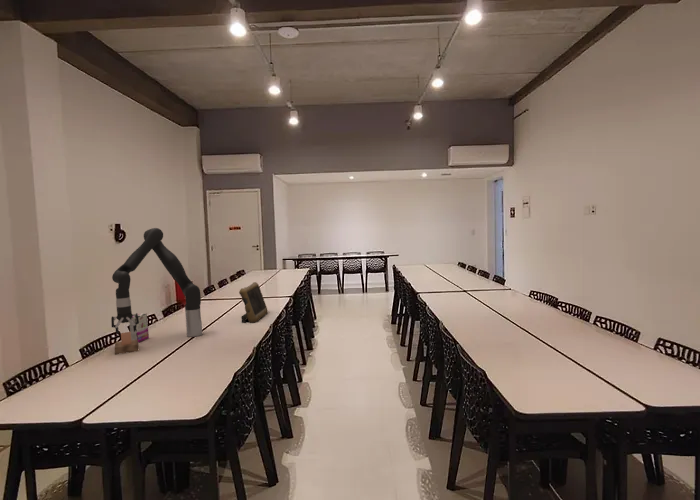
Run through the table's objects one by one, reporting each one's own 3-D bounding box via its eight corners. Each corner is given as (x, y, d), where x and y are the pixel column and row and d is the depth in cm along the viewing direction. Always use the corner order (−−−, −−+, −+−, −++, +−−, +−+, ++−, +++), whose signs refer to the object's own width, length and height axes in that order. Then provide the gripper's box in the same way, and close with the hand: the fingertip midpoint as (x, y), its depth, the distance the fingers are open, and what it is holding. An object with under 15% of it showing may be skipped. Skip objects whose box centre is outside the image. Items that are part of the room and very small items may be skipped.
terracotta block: (131, 341, 265) (130, 331, 264) (131, 343, 260) (130, 333, 260) (122, 343, 263) (121, 332, 262) (121, 345, 258) (120, 334, 258)
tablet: (259, 323, 318) (257, 288, 316) (239, 323, 318) (237, 288, 316) (268, 313, 350) (266, 281, 348) (250, 313, 350) (248, 282, 348)
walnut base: (138, 345, 270) (137, 339, 269) (138, 351, 259) (138, 344, 259) (116, 349, 265) (115, 342, 264) (115, 354, 254) (114, 347, 253)
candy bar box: (142, 338, 288) (140, 312, 287) (149, 338, 287) (147, 313, 286) (130, 343, 277) (128, 317, 276) (137, 343, 276) (135, 317, 275)
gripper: (137, 302, 266) (139, 329, 267) (110, 305, 260) (112, 333, 261) (137, 304, 259) (139, 332, 261) (109, 308, 253) (112, 336, 254)
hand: (126, 332), depth 261 cm, fingers open, 8 cm apart
